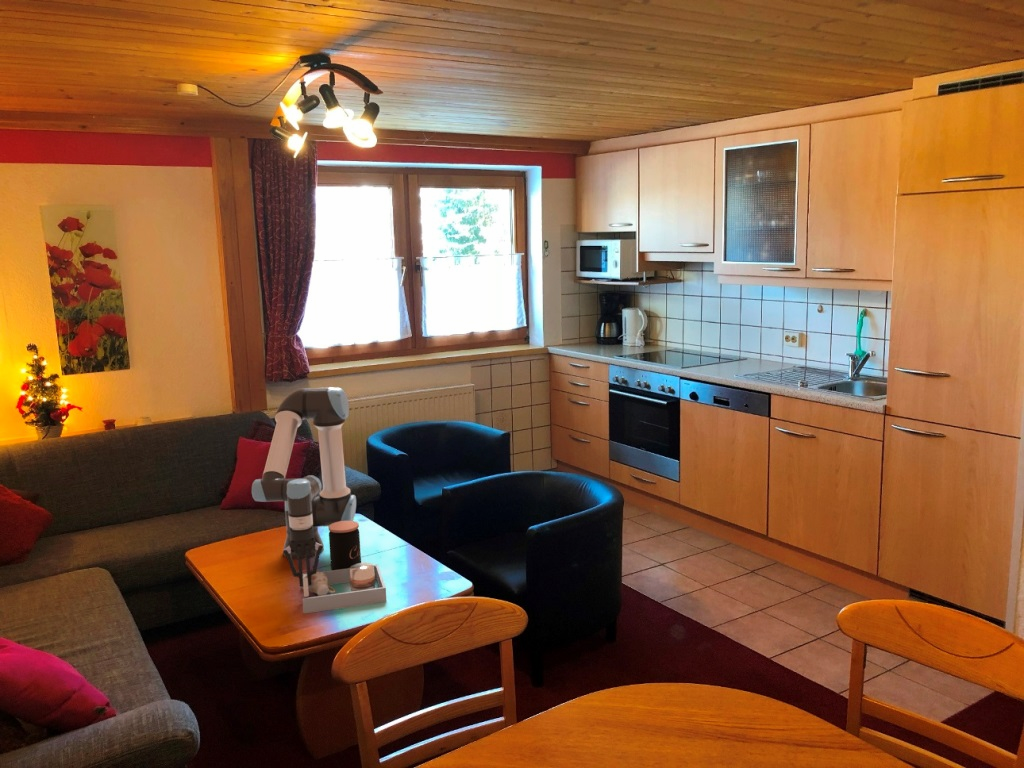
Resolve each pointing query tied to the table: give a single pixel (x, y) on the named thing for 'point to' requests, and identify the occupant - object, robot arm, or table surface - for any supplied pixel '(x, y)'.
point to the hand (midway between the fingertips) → (306, 594)
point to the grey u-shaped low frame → (348, 597)
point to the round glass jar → (362, 576)
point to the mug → (320, 584)
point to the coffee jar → (344, 544)
